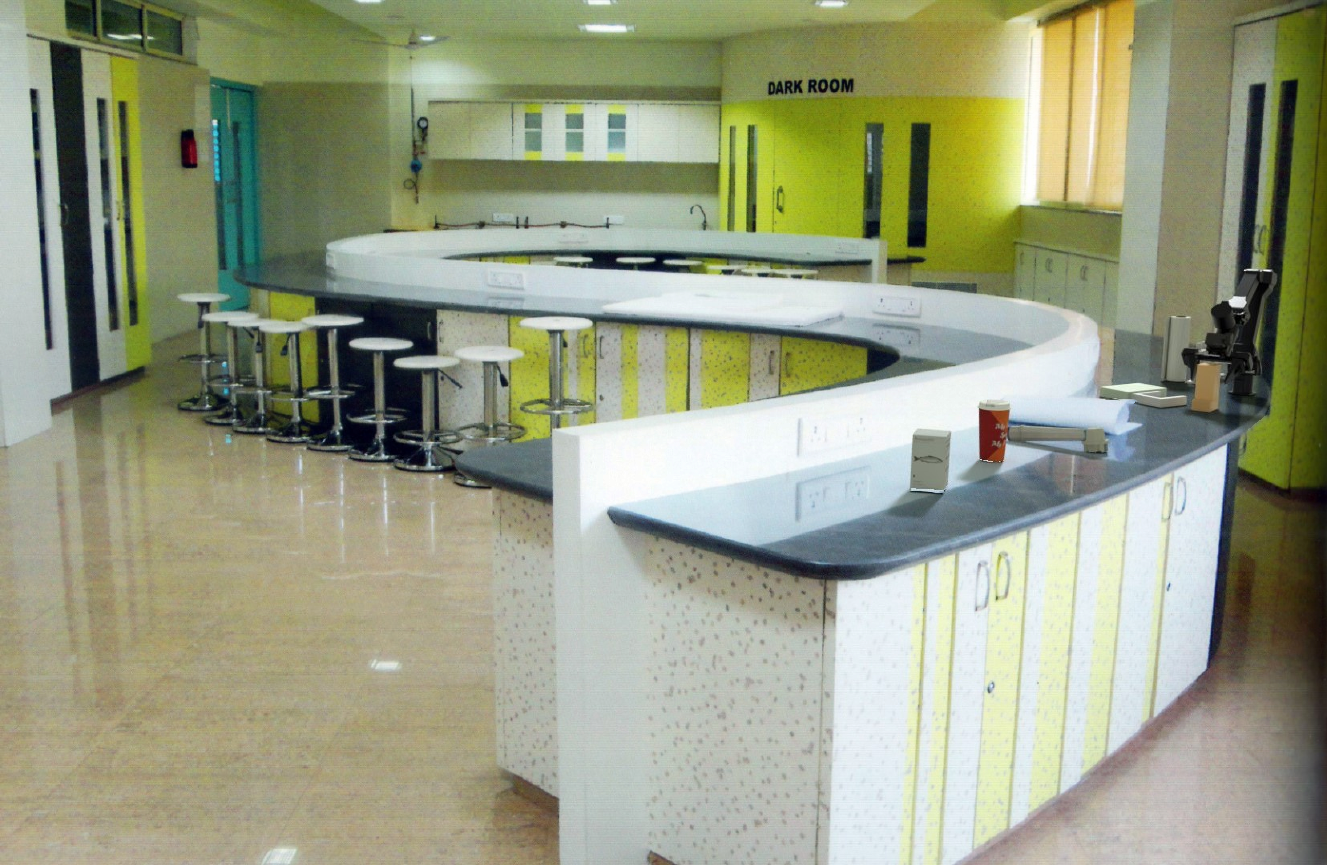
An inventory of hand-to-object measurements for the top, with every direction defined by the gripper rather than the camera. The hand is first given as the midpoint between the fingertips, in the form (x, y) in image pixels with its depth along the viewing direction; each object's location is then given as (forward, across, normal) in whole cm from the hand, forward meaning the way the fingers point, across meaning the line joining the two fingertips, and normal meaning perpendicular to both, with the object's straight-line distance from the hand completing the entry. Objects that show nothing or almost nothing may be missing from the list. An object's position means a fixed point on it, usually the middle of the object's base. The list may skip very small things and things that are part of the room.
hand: (1208, 381), depth 343 cm
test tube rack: (-34, -18, +45) cm, 59 cm away
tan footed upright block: (+6, 0, +6) cm, 8 cm away
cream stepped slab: (+3, -18, +8) cm, 20 cm away
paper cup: (+77, -16, -65) cm, 102 cm away
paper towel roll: (-27, -25, +38) cm, 53 cm away
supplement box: (+102, -13, -89) cm, 136 cm away
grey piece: (+60, -11, -47) cm, 77 cm away
